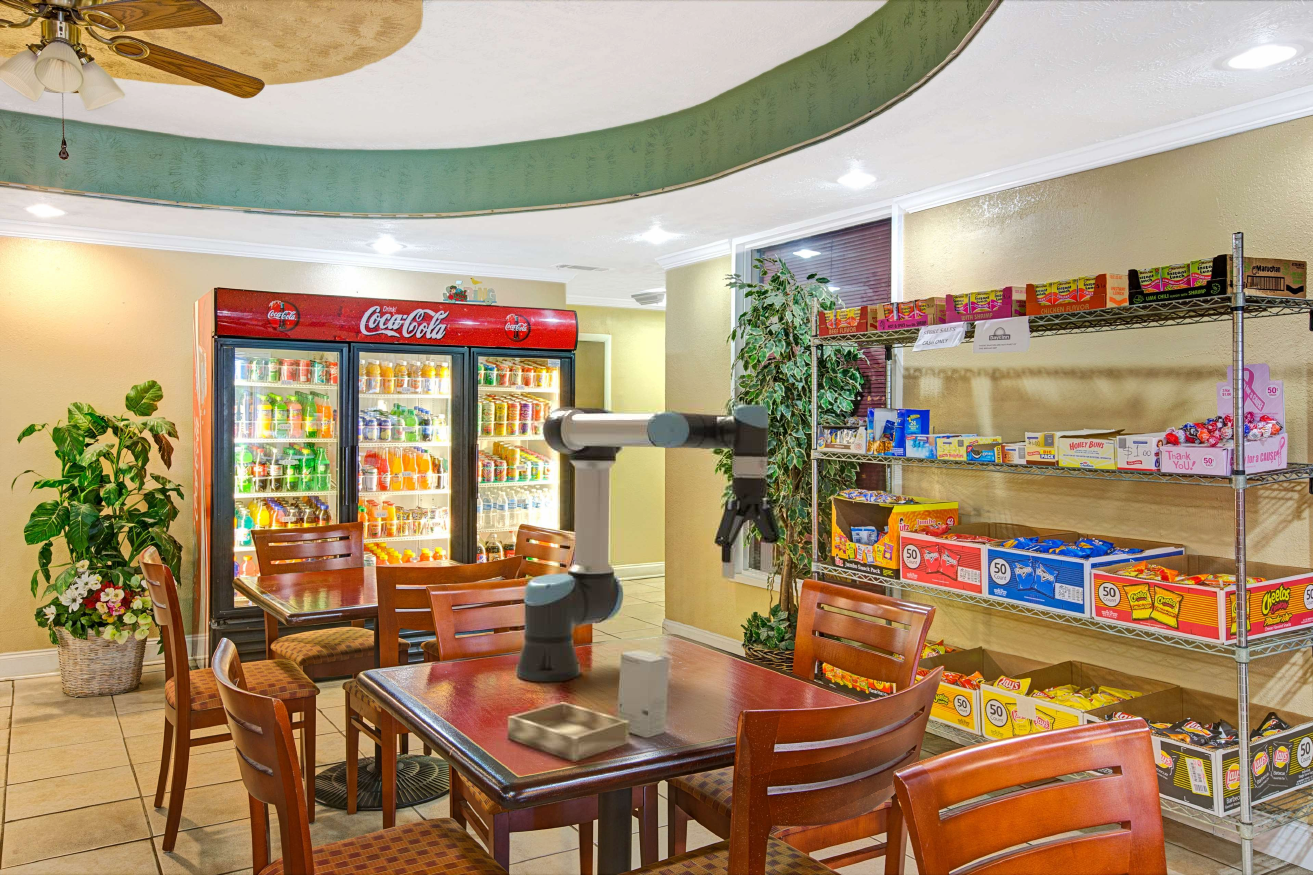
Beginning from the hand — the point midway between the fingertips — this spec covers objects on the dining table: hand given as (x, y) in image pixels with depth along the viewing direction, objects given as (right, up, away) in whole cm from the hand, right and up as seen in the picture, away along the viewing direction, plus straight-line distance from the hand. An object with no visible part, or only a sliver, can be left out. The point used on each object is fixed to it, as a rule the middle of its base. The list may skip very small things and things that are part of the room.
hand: (747, 575), depth 192 cm
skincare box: (-23, -27, -19) cm, 40 cm away
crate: (-36, -27, -26) cm, 52 cm away
